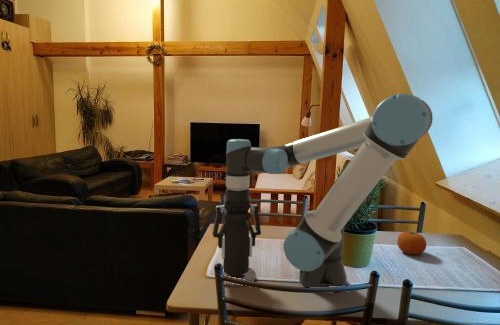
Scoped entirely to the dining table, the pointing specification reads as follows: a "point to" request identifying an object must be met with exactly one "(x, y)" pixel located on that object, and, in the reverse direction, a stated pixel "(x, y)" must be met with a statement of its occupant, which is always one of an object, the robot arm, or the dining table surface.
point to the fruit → (411, 243)
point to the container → (236, 243)
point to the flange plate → (242, 277)
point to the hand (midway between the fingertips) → (236, 256)
